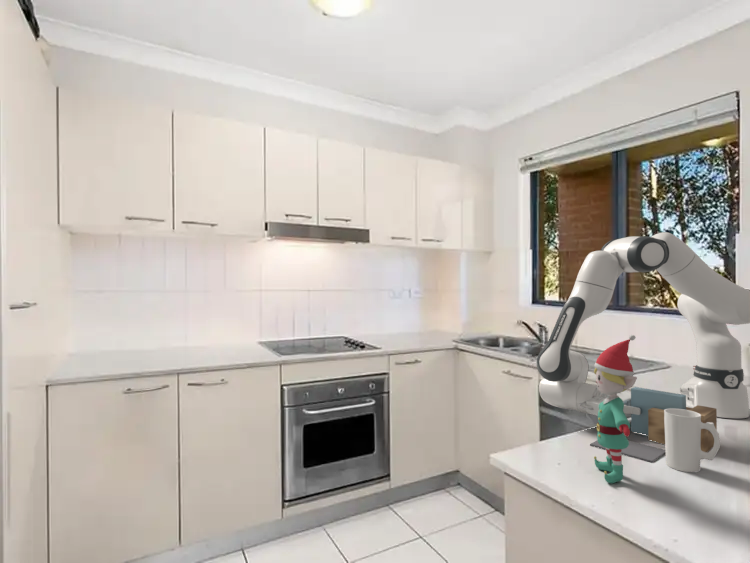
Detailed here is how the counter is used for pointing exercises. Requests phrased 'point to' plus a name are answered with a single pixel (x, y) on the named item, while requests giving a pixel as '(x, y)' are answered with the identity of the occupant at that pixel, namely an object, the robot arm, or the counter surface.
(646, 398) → the blue rectangular block
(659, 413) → the slot box
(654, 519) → the counter surface
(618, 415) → the toy
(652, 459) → the mat
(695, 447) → the mug
